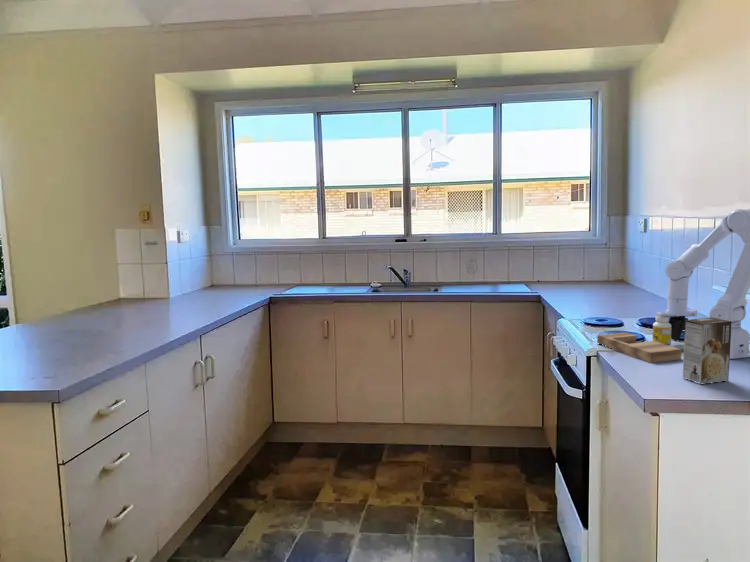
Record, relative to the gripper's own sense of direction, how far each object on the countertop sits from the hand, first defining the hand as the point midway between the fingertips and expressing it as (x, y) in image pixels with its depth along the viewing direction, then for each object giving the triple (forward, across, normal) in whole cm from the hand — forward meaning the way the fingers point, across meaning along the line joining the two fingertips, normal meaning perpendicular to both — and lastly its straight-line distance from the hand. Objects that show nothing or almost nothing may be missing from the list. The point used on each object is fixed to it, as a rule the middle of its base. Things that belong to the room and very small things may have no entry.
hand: (675, 339), depth 193 cm
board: (+2, +18, +3) cm, 18 cm away
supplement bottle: (+2, +6, 0) cm, 6 cm away
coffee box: (+2, +21, +33) cm, 39 cm away
